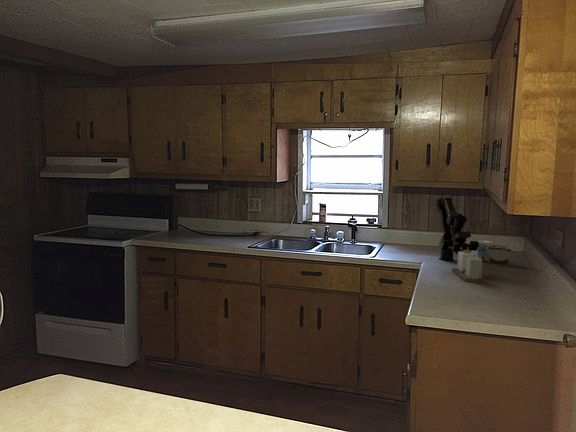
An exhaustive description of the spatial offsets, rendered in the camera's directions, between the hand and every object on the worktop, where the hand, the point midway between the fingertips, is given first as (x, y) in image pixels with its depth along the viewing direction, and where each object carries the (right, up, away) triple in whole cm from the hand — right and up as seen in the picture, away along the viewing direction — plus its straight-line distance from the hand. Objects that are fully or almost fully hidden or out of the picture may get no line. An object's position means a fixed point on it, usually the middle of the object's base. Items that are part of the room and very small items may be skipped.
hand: (462, 258), depth 253 cm
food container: (+28, -5, +21) cm, 35 cm away
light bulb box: (+22, -3, +31) cm, 39 cm away
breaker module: (0, -6, -4) cm, 7 cm away
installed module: (-1, -7, -16) cm, 18 cm away
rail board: (-1, -8, -9) cm, 12 cm away
